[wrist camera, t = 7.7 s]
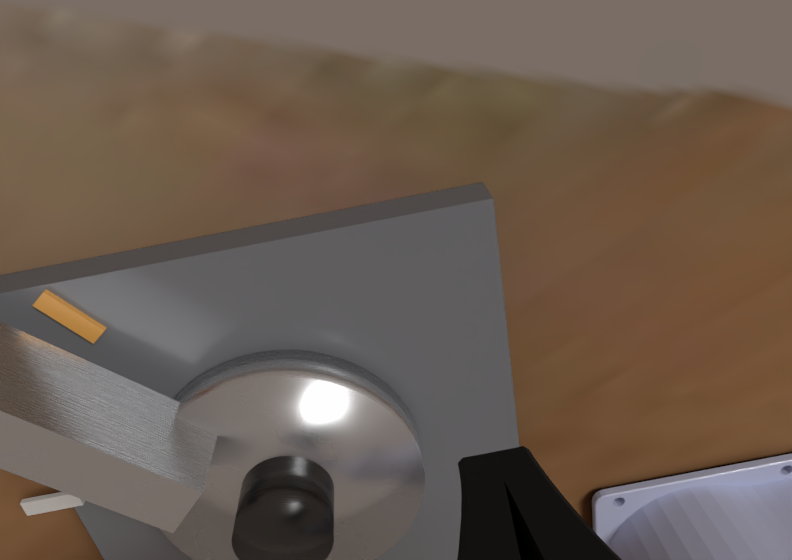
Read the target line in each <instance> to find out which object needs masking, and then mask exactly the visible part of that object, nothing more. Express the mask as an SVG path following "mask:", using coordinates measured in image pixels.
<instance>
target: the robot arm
mask: <svg viewBox="0 0 792 560" xmlns="http://www.w3.org/2000/svg"><path fill="white" fill-rule="evenodd" d="M458 468H459V474H460V480H461V499H462V500H461V525H460V537H459V550H458V558H457V560H792V453H791V454H786V455H780V456H775V457H770V458H765V459H759V460H754V461H749V462H744V463H738V464H733V465H728V466H723V467H717V468H712V469H707V470H702V471H696V472H691V473H686V474H681V475H675V476H670V477H665V478H660V479H655V480H649V481H644V482H639V483H634V484H628V485H623V486H618V487H613V488H607V489H602V490H599V491H598V492H596V493H595V494H594V496H593V497H592V521H593V529H592V528H591V527H590V526H589V525H588V524H587V523H586V522H585V521H584V519H583V518H582V517H581V516H580V515H579V514H578V513H577V512H576V510H575V509H574V508H573V507H572V506H571V505H570V504H569V502H568V501H567V500H566V499H565V498H564V496H563V495H562V494H561V493H560V491H559V490H558V489H557V488H556V486H555V485H554V484H553V483H552V481H551V480H550V479H549V477H548V476H547V475H546V474H545V472H544V471H543V469H542V468H541V467H540V465H539V464H538V462H537V461H536V460H535V458H534V457H533V455H532V453H531V452H530V450H529V449H527V448H525V447H524V446H522V447H517V448H511V449H506V450H501V451H496V452H490V453H485V454H480V455H475V456H469V457H464V458H462V459H461V460H460V461H459V462H458ZM616 498H617V499H616Z"/></svg>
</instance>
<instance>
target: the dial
mask: <svg viewBox="0 0 792 560" xmlns="http://www.w3.org/2000/svg"><path fill="white" fill-rule="evenodd" d="M0 469H3V470H5V471H8V472H11V473H13V474H16V475H19V476H21V477H24V478H27V479H29V480H32V481H35V482H37V483H40V484H43V485H45V486H48V487H51V488H53V489H56V490H59V491H61V492H64V493H67V494H69V495H72V496H75V497H77V498H80V499H83V500H85V501H88V502H91V503H93V504H96V505H99V506H101V507H104V508H107V509H109V510H112V511H115V512H117V513H120V514H123V515H125V516H128V517H131V518H133V519H136V520H139V521H141V522H144V523H147V524H149V525H152V526H155V527H157V528H160V530H161V531H162V532H163V533H164V534H165V536H166V537H167V538H168V539H169V540H170V541H171V542H172V543H173V544H174V545H175V546H176V547H177V548H178V549H179V550H180V551H182V552H183V553H185V554H186V555H187V556H189V557H190V558H192V559H193V560H375V559H377V558H378V557H380V556H381V555H383V554H384V553H385V552H387V551H388V550H389V549H390V548H392V547H393V546H394V545H395V544H396V543H397V542H398V541H399V540H400V539H401V538H402V537H403V535H404V534H405V533H406V532H407V530H408V529H409V528H410V526H411V524H412V523H413V521H414V519H415V518H416V516H417V514H418V511H419V509H420V506H421V504H422V499H423V495H424V488H425V474H424V465H423V459H422V453H421V448H420V442H419V436H418V432H417V428H416V425H415V422H414V419H413V417H412V415H411V413H410V411H409V409H408V408H407V406H406V405H405V403H404V402H403V400H402V399H401V398H400V396H399V395H398V394H397V393H396V392H395V391H394V390H393V389H392V388H391V387H390V386H389V385H388V384H387V383H385V382H384V381H383V380H382V379H380V378H379V377H378V376H377V375H375V374H373V373H372V372H370V371H368V370H367V369H365V368H363V367H361V366H359V365H357V364H355V363H352V362H350V361H348V360H345V359H342V358H339V357H336V356H332V355H329V354H324V353H319V352H314V351H304V350H271V351H263V352H256V353H252V354H248V355H244V356H240V357H237V358H234V359H231V360H229V361H226V362H224V363H221V364H219V365H217V366H215V367H213V368H211V369H210V370H208V371H206V372H204V373H203V374H201V375H200V376H199V377H197V378H196V379H194V380H193V381H192V382H190V383H189V384H188V385H187V386H186V387H185V388H184V389H183V390H182V391H181V392H180V393H179V394H178V396H177V397H176V398H175V400H174V399H172V398H169V397H167V396H165V395H163V394H160V393H158V392H156V391H154V390H152V389H149V388H147V387H145V386H143V385H140V384H138V383H136V382H134V381H132V380H129V379H127V378H125V377H123V376H120V375H118V374H116V373H114V372H112V371H109V370H107V369H105V368H103V367H100V366H98V365H96V364H94V363H92V362H89V361H87V360H85V359H83V358H80V357H78V356H76V355H74V354H72V353H69V352H67V351H65V350H63V349H60V348H58V347H56V346H54V345H51V344H49V343H47V342H45V341H43V340H40V339H38V338H36V337H34V336H31V335H29V334H27V333H25V332H23V331H20V330H18V329H16V328H14V327H11V326H9V325H7V324H5V323H3V322H0Z"/></svg>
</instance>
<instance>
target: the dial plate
mask: <svg viewBox="0 0 792 560" xmlns="http://www.w3.org/2000/svg"><path fill="white" fill-rule="evenodd" d="M0 322H3V323H5V324H7V325H9V326H11V327H14V328H16V329H18V330H20V331H23V332H25V333H27V334H29V335H31V336H34V337H36V338H38V339H40V340H43V341H45V342H47V343H49V344H51V345H54V346H56V347H58V348H60V349H63V350H65V351H67V352H69V353H72V354H74V355H76V356H78V357H80V358H83V359H85V360H87V361H89V362H92V363H94V364H96V365H98V366H100V367H103V368H105V369H107V370H109V371H112V372H114V373H116V374H118V375H120V376H123V377H125V378H127V379H129V380H132V381H134V382H136V383H138V384H140V385H143V386H145V387H147V388H149V389H152V390H154V391H156V392H158V393H160V394H163V395H165V396H167V397H169V398H172V399H174V400H175V398H176V397H177V396H178V394H179V393H180V392H181V391H182V390H183V389H184V388H185V387H186V386H187V385H188V384H189V383H190V382H192V381H193V380H194V379H196V378H197V377H199V376H200V375H201V374H203V373H204V372H206V371H208V370H210V369H211V368H213V367H215V366H217V365H219V364H221V363H224V362H226V361H229V360H231V359H234V358H237V357H240V356H244V355H248V354H252V353H256V352H263V351H271V350H304V351H314V352H319V353H324V354H329V355H332V356H336V357H339V358H342V359H345V360H348V361H350V362H352V363H355V364H357V365H359V366H361V367H363V368H365V369H367V370H368V371H370V372H372V373H373V374H375V375H377V376H378V377H379V378H380V379H382V380H383V381H384V382H385V383H387V384H388V385H389V386H390V387H391V388H392V389H393V390H394V391H395V392H396V393H397V394H398V395H399V396H400V398H401V399H402V400H403V402H404V403H405V405H406V406H407V408H408V409H409V411H410V413H411V415H412V417H413V419H414V422H415V425H416V428H417V432H418V436H419V442H420V448H421V453H422V459H423V465H424V474H425V488H424V495H423V499H422V504H421V506H420V509H419V511H418V514H417V516H416V518H415V519H414V521H413V523H412V524H411V526H410V528H409V529H408V530H407V532H406V533H405V534H404V535H403V537H402V538H401V539H400V540H399V541H398V542H397V543H396V544H395V545H394V546H393V547H392V548H390V549H389V550H388V551H387V552H385V553H384V554H383V555H381V556H380V557H378V558H377V559H375V560H457V558H458V550H459V537H460V525H461V500H462V499H461V480H460V474H459V468H458V462H459V461H460V460H461V459H462V458H464V457H469V456H475V455H480V454H485V453H490V452H496V451H501V450H506V449H511V448H517V447H519V438H518V428H517V419H516V409H515V400H514V390H513V381H512V371H511V362H510V352H509V343H508V333H507V324H506V314H505V305H504V295H503V286H502V276H501V267H500V257H499V248H498V238H497V229H496V219H495V210H494V200H493V197H492V196H491V194H490V193H489V191H488V190H487V188H486V187H485V185H484V184H483V182H482V183H477V184H472V185H467V186H462V187H457V188H451V189H446V190H441V191H436V192H431V193H425V194H420V195H415V196H410V197H405V198H400V199H394V200H389V201H384V202H379V203H374V204H368V205H363V206H358V207H353V208H348V209H343V210H337V211H332V212H327V213H322V214H317V215H311V216H306V217H301V218H296V219H291V220H286V221H280V222H275V223H270V224H265V225H260V226H255V227H249V228H244V229H239V230H234V231H229V232H223V233H218V234H213V235H208V236H203V237H198V238H192V239H187V240H182V241H177V242H172V243H166V244H161V245H156V246H151V247H146V248H141V249H135V250H130V251H125V252H120V253H115V254H109V255H104V256H99V257H94V258H89V259H84V260H78V261H73V262H68V263H63V264H58V265H52V266H47V267H42V268H37V269H32V270H27V271H21V272H16V273H11V274H6V275H1V276H0ZM20 505H21V506H22V508H23V510H24V511H25V513H26V514H27V516H29V515H35V514H40V513H45V512H50V511H55V510H61V509H66V508H71V507H74V508H75V510H76V512H77V514H78V515H79V517H80V519H81V521H82V522H83V524H84V526H85V527H86V529H87V531H88V533H89V534H90V536H91V538H92V540H93V541H94V543H95V545H96V547H97V548H98V550H99V552H100V553H101V555H102V557H103V559H104V560H193V559H192V558H190V557H189V556H187V555H186V554H185V553H183V552H182V551H180V550H179V549H178V548H177V547H176V546H175V545H174V544H173V543H172V542H171V541H170V540H169V539H168V538H167V537H166V536H165V534H164V533H163V532H162V531H161V530H160V528H157V527H155V526H152V525H149V524H147V523H144V522H141V521H139V520H136V519H133V518H131V517H128V516H125V515H123V514H120V513H117V512H115V511H112V510H109V509H107V508H104V507H101V506H99V505H96V504H93V503H91V502H88V501H85V500H83V499H80V498H77V497H75V496H72V495H69V494H67V493H64V492H58V493H53V494H48V495H42V496H37V497H32V498H27V499H22V501H21V503H20Z"/></svg>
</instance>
